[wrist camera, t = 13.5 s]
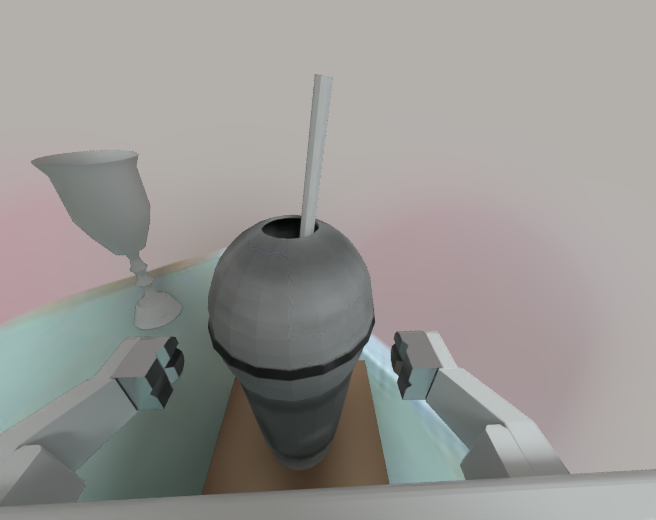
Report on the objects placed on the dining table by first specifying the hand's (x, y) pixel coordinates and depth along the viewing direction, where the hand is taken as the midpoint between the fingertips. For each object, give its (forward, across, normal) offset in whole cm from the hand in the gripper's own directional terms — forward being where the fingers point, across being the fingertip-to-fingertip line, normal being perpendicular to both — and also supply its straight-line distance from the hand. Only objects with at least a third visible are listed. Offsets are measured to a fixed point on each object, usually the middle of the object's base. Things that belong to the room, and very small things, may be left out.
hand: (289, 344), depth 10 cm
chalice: (+17, +18, +15) cm, 29 cm away
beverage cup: (+2, 0, +12) cm, 12 cm away
